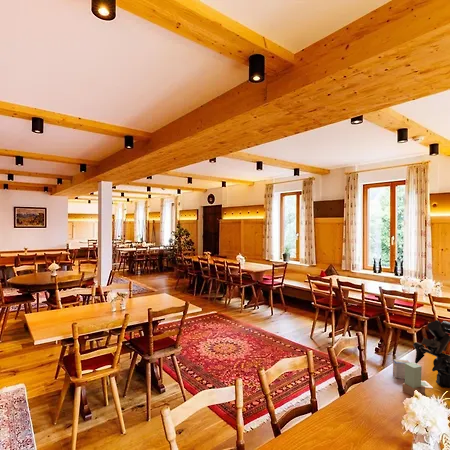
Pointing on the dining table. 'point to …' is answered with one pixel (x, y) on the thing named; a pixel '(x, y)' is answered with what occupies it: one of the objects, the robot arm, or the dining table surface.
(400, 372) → the medicine box
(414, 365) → the sage block
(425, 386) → the card
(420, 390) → the walnut base block
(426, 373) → the dining table surface
